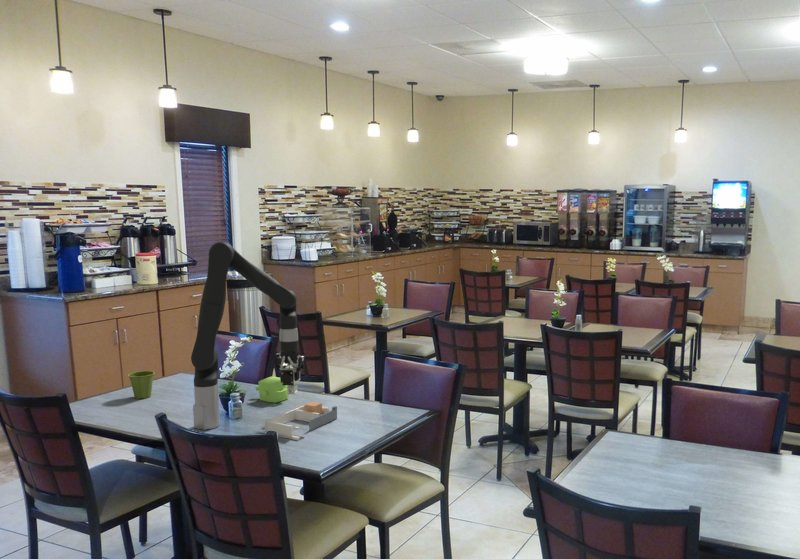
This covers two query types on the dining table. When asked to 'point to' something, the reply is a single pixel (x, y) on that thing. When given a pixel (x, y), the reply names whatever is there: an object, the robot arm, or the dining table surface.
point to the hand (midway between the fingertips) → (290, 379)
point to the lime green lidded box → (272, 390)
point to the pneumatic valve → (289, 379)
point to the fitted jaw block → (314, 407)
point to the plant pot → (142, 383)
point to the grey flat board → (323, 419)
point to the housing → (287, 430)
